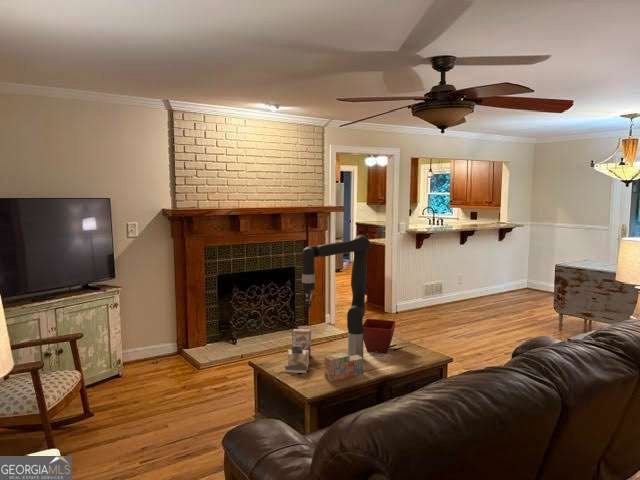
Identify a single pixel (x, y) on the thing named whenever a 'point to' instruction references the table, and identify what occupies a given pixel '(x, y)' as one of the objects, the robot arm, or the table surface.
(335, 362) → the stack of blocks
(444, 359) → the table surface
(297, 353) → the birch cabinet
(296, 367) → the cleat board
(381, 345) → the plant pot
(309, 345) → the candy bar box
